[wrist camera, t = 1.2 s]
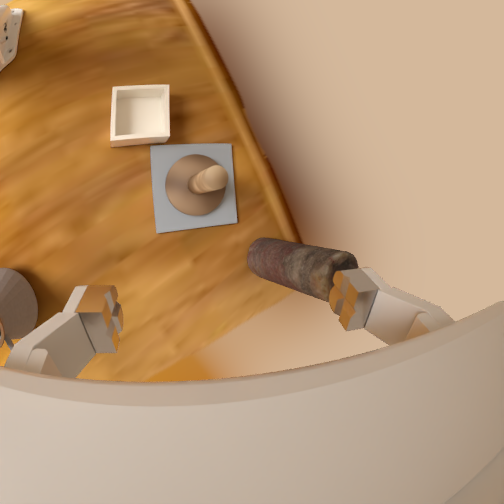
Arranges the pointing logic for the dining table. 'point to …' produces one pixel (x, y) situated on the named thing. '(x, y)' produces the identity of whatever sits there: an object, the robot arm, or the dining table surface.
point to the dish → (140, 115)
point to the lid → (196, 184)
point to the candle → (299, 265)
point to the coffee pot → (16, 307)
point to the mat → (163, 209)
